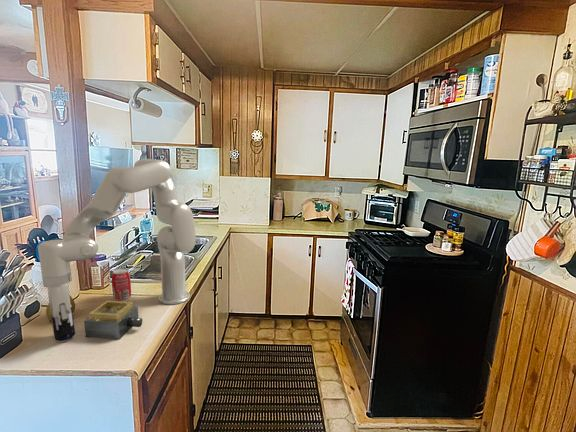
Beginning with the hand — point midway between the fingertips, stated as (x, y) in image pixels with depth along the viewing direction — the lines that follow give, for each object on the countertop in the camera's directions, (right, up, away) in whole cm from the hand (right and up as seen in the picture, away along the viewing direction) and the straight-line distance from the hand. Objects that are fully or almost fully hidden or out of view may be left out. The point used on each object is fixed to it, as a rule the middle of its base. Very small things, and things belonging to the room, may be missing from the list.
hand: (64, 329), depth 107 cm
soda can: (+3, +2, +32) cm, 32 cm away
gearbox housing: (+14, -2, +7) cm, 16 cm away
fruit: (-10, -1, +14) cm, 17 cm away
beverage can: (0, -3, +1) cm, 3 cm away
